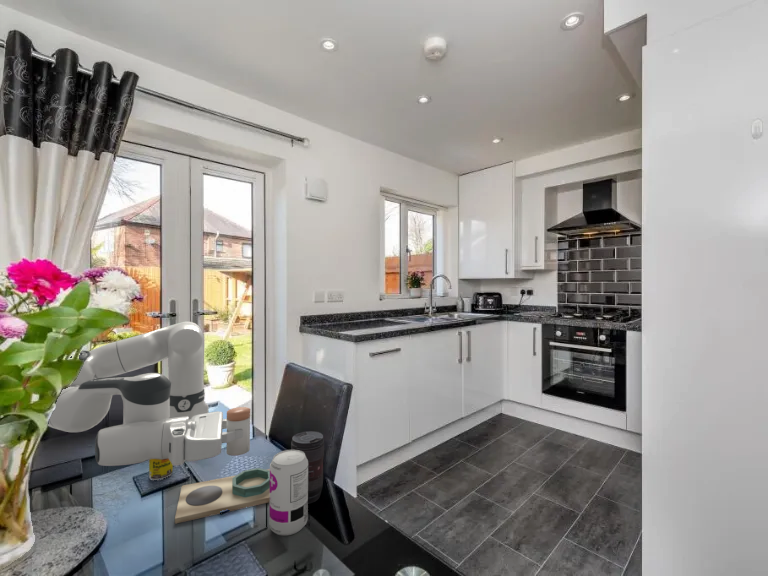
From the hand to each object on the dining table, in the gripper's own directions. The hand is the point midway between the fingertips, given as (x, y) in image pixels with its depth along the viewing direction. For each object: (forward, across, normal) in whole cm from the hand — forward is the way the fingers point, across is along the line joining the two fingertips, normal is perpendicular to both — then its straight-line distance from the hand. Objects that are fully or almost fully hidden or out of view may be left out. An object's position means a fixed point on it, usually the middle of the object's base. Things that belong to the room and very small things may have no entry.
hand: (242, 427), depth 89 cm
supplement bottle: (-20, -18, -17) cm, 32 cm away
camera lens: (+15, +7, -17) cm, 24 cm away
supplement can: (+9, +16, -17) cm, 25 cm away
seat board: (-3, -1, -17) cm, 17 cm away
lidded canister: (-1, 0, -6) cm, 6 cm away
